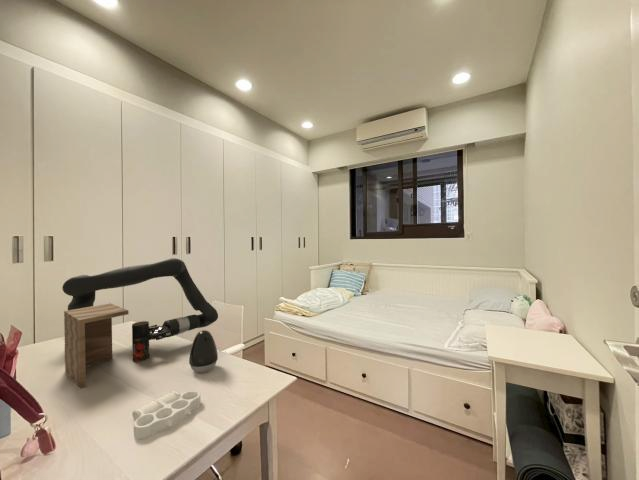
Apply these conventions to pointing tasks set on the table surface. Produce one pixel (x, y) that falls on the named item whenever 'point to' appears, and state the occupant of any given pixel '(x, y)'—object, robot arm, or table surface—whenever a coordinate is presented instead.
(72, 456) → the table surface
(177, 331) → the robot arm
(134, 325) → the deodorant
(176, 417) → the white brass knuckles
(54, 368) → the table surface
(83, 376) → the wooden stand
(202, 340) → the black rounded cone
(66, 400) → the table surface
